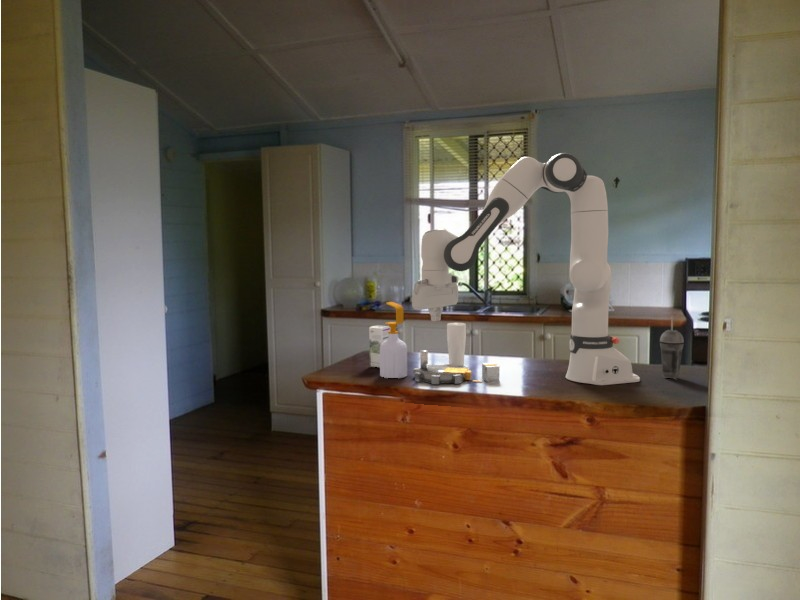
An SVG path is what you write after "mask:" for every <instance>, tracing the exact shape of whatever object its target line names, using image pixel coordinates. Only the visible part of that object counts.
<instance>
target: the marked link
mask: <svg viewBox="0 0 800 600" xmlns="http://www.w3.org/2000/svg"><path fill="white" fill-rule="evenodd" d="M481 366H482V367H481V368H482V369H481V372H482V373H481V378H482V379H483V381H485V382H486V383H499V382H500V366H499V365H498V364H497V363H495V362H482V364H481Z"/></svg>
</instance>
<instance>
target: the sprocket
mask: <svg viewBox="0 0 800 600" xmlns="http://www.w3.org/2000/svg"><path fill="white" fill-rule="evenodd" d="M419 352H420V353H419V354H420V358H419V359H420V361H419V363H420V365H419V366H420V367H415V368H413V369H412V378H414V381H416V382H419V383H420V382H423V383H431V385H440V384H454V385H458V384H462V382H464V381H471V380H472V374H473V373H472V370H469V369H470V368H469V367H468V366H464V365H463V366H460V367H459V366H452V364H449V363H447V364H446V363H445V364H434V365H432V364H429V357H428V356H429V354H428V353H429V351H428V350H425V349H423V350H421V349H420V351H419Z"/></svg>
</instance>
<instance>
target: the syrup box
mask: <svg viewBox="0 0 800 600" xmlns="http://www.w3.org/2000/svg"><path fill="white" fill-rule="evenodd" d="M388 331H391V327H389V325H378V324H377V325H372V326H369V327H368V333H369V334H368V337H369V338H368V339H369V343H368V344H369V345H368V346H369V367H371V368H375V367H377V368H378V369H380V345H381V343H383V342H384V341H385V340H387V339H388ZM377 368H376V369H377Z"/></svg>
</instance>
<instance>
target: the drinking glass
mask: <svg viewBox="0 0 800 600" xmlns="http://www.w3.org/2000/svg"><path fill="white" fill-rule="evenodd" d="M466 338H467V323H464V322H448V323H447V324H446V340H447V350H448V364H452V366H459V367H463V366H464V365H465V351H466V350H465V349H466V340H467V339H466Z"/></svg>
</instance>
